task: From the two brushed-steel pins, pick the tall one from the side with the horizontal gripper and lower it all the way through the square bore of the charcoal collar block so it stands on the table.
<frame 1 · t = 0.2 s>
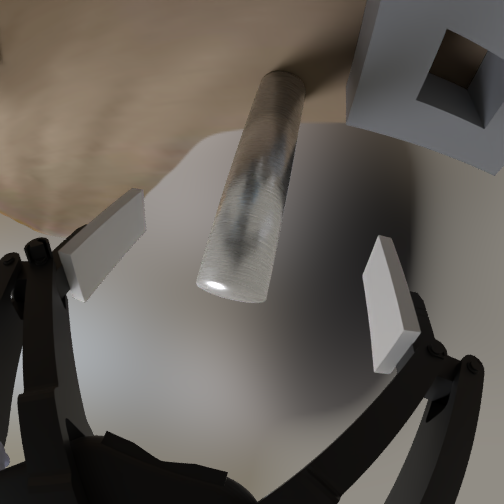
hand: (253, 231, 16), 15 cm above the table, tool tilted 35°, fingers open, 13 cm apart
long steel pin: (282, 89, 23), on the table
charcoal collar block: (450, 48, 14), on the table
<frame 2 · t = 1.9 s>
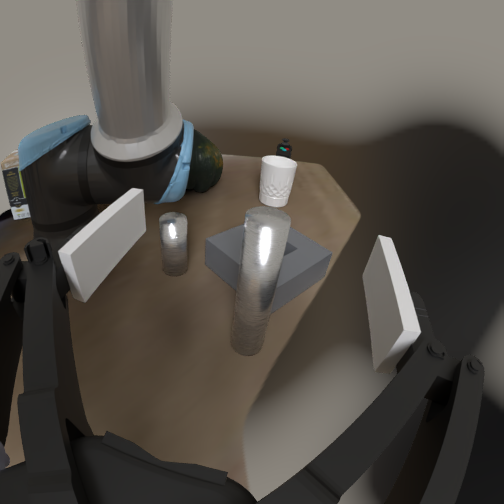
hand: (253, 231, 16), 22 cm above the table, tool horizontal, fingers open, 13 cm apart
white cup: (272, 201, 70), on the table
short steel pin: (175, 268, 46), on the table
controller: (280, 175, 85), on the table
squash: (189, 186, 72), on the table
tea box: (44, 207, 58), on the table
long steel pin: (246, 343, 37), on the table
charcoal collar block: (266, 270, 49), on the table
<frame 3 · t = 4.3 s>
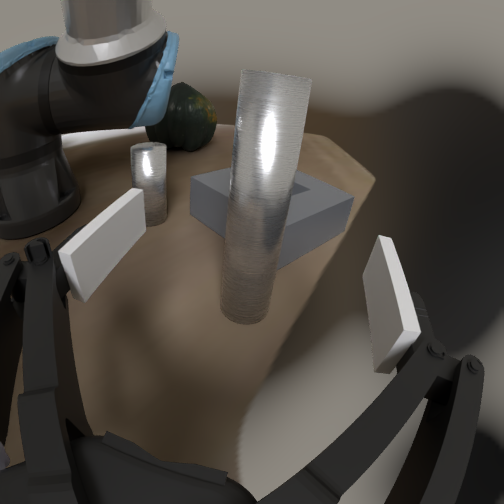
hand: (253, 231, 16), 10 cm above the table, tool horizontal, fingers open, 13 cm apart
short steel pin: (151, 217, 35), on the table
squash: (178, 147, 61), on the table
long steel pin: (244, 306, 25), on the table
charcoal collar block: (269, 221, 37), on the table
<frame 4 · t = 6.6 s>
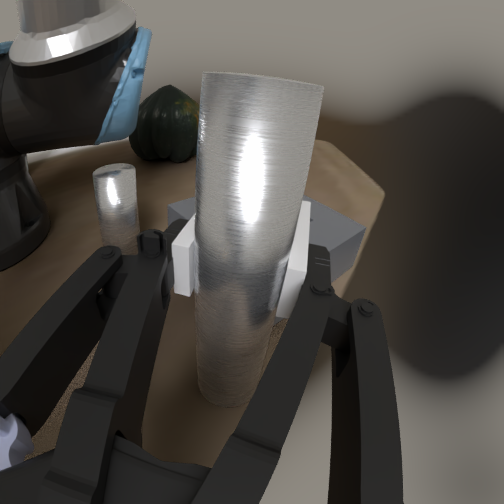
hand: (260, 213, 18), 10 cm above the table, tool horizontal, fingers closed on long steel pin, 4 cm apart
short steel pin: (123, 252, 29), on the table
squash: (166, 157, 55), on the table
long steel pin: (227, 382, 19), on the table, touching gripper
charcoal collar block: (263, 257, 31), on the table
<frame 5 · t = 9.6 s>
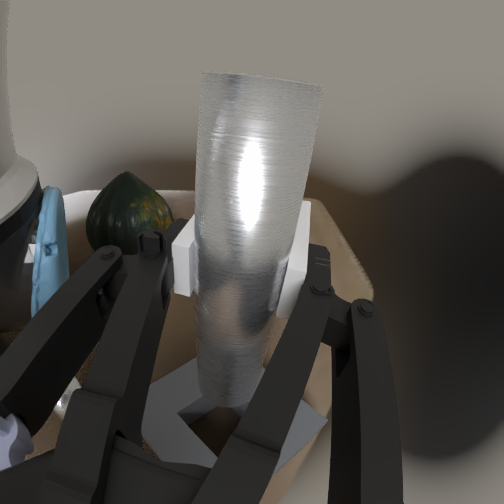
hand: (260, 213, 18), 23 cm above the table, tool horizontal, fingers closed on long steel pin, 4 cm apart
short steel pin: (89, 424, 24), on the table
squash: (132, 253, 50), on the table
long steel pin: (227, 382, 19), point 13 cm above the table, touching gripper
charcoal collar block: (221, 435, 27), on the table
when the fingers open (11 cm above the table, at t = 13.1 s): long steel pin drops 1 cm, resting in charcoal collar block.
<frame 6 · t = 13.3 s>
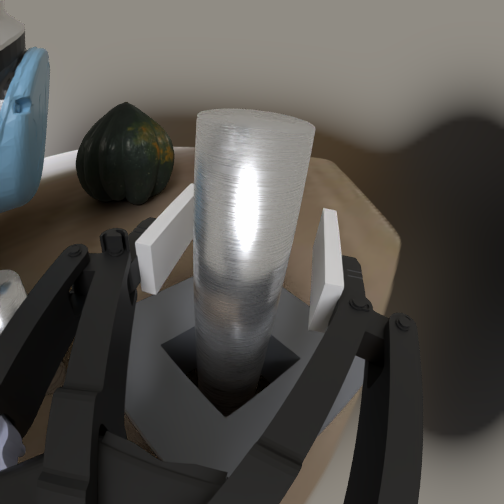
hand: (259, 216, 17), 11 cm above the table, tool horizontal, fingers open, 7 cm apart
short steel pin: (44, 374, 18), on the table
squash: (126, 195, 43), on the table
long steel pin: (226, 392, 20), resting in charcoal collar block
charcoal collar block: (226, 391, 20), on the table
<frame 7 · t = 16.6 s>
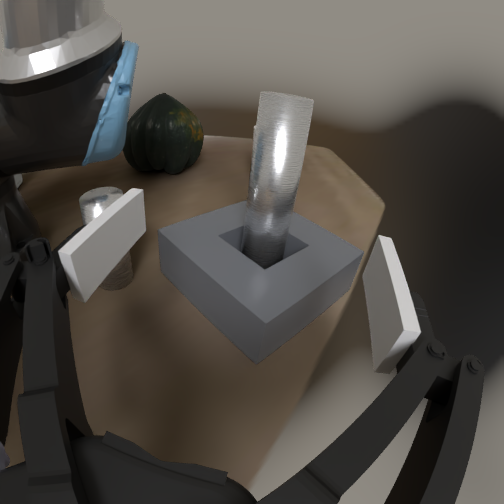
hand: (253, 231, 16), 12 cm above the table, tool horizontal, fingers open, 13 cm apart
short steel pin: (114, 277, 28), on the table
squash: (161, 168, 54), on the table
long steel pin: (257, 282, 30), resting in charcoal collar block
charcoal collar block: (257, 281, 30), on the table
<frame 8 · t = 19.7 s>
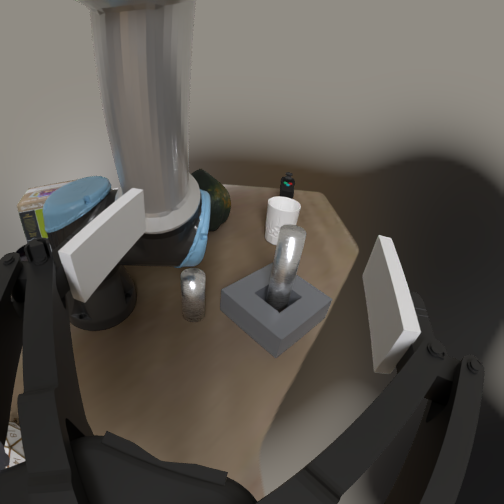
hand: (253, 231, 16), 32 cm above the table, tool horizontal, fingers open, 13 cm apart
white cup: (277, 239, 76), on the table
short steel pin: (193, 313, 52), on the table
controller: (283, 207, 91), on the table
game die: (25, 455, 24), on the table
squash: (199, 224, 78), on the table
tea box: (61, 244, 63), on the table
long steel pin: (273, 314, 54), resting in charcoal collar block
charcoal collar block: (273, 314, 54), on the table
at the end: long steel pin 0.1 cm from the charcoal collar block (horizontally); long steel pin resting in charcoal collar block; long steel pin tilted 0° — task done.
